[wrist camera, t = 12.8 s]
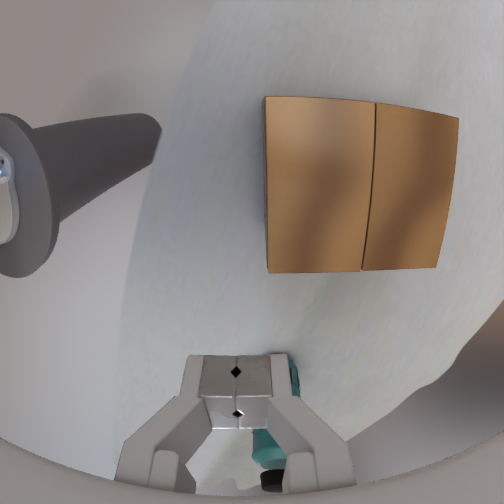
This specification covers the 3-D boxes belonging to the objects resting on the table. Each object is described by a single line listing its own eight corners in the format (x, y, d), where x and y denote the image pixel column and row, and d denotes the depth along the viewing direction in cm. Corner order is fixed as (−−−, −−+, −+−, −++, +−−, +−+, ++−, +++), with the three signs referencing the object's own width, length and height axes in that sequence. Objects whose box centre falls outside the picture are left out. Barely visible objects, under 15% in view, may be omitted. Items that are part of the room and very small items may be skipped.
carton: (264, 224, 32) (267, 274, 23) (262, 101, 26) (264, 95, 17) (393, 223, 32) (436, 268, 22) (403, 111, 26) (459, 117, 17)
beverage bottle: (305, 355, 41) (321, 482, 23) (285, 381, 44) (292, 497, 26) (263, 344, 40) (264, 479, 22) (246, 372, 43) (241, 493, 25)
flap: (268, 270, 23) (268, 273, 23) (265, 96, 17) (265, 96, 17) (359, 269, 23) (360, 271, 23) (373, 102, 17) (375, 102, 17)
